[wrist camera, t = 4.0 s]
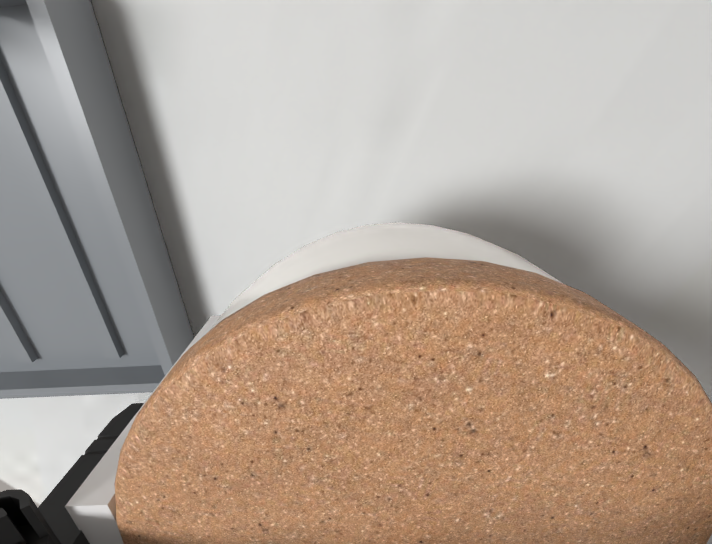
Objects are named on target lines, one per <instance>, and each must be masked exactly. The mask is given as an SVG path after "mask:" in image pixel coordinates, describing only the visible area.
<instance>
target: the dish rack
mask: <svg viewBox="0 0 712 544" xmlns="http://www.w3.org/2000/svg"><path fill="white" fill-rule="evenodd" d="M193 339H194V336H193V333H192V330H191V326H190V323H189V320H188V317H187V313H186V310H185V307H184V304H183V300H182V297H181V294H180V291H179V287H178V284H177V281H176V278H175V274H174V271H173V268H172V265H171V261H170V258H169V255H168V251H167V248H166V245H165V242H164V238H163V235H162V232H161V229H160V225H159V222H158V219H157V216H156V212H155V209H154V206H153V203H152V199H151V196H150V193H149V190H148V186H147V183H146V180H145V177H144V173H143V170H142V167H141V164H140V160H139V157H138V154H137V151H136V147H135V144H134V141H133V138H132V134H131V131H130V128H129V124H128V121H127V118H126V115H125V111H124V108H123V105H122V102H121V98H120V95H119V92H118V89H117V85H116V82H115V79H114V76H113V72H112V69H111V66H110V63H109V59H108V56H107V53H106V50H105V46H104V43H103V40H102V37H101V33H100V30H99V27H98V24H97V20H96V17H95V14H94V10H93V7H92V4H91V1H90V0H0V399H3V398H27V397H50V396H74V395H97V394H121V393H145V392H153V391H154V390H155V389H156V387H157V386H158V385H159V383H160V382H161V381H162V379H163V378H164V377H165V376H166V374H167V373H168V372H169V370H170V369H171V368H172V366H173V365H174V364H175V363H176V361H177V360H178V359H179V357H180V356H181V355H182V353H183V352H184V351H185V350H186V348H187V347H188V346H189V344H190V343H191V342H192V340H193Z"/></svg>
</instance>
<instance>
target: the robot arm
mask: <svg viewBox="0 0 712 544" xmlns="http://www.w3.org/2000/svg"><path fill="white" fill-rule="evenodd" d="M220 316H221V315H218V316H211V317H210V318H209V320H208V321H207V322H206V324H205V325H204V326H203V327H202V329H201V330H200V331H199V333H198V334H197V335H196V337H195V338H194V339H193V340H192V342H191V343H190V344H189V346H188V347H187V348H186V350H185V351H184V352H183V353H182V355H181V356H180V357H179V359H180V358H181V357H182V356H183V354H184V353H185V352H186V351H187V350H188V349H189V348H191V347H192V346H193V345H194V344H195V343H196V342H197V341H199V340H200V339H201V338H202V337H203V336H204V335H206V334H207V333H208V332H209V330H210V329H211V328H212V326H213V325H214V324H215V323H216V321H217V320H218V319H219V318H220ZM179 359H178V360H179ZM178 360H177V361H176V363H177V362H178ZM176 363H175V364H176ZM175 364H174V365H175ZM174 365H173V366H172V368H173V367H174ZM172 368H171V369H172ZM171 369H170V370H169V372H170V371H171ZM169 372H168V373H169ZM168 373H167V374H168ZM167 374H166V376H167ZM166 376H165V377H166ZM165 377H164V378H165ZM164 378H163V379H162V381H163V380H164ZM162 381H161V382H162ZM161 382H160V383H159V385H160V384H161ZM159 385H158V386H159ZM158 386H157V387H158ZM157 387H156V389H157ZM156 389H155V390H156ZM155 390H154V391H155ZM154 391H153V392H152V394H153V393H154ZM152 394H151V395H152ZM151 395H150V396H151ZM150 396H149V398H150ZM149 398H148V399H149ZM148 399H147V400H148ZM147 400H146V402H147ZM146 402H145V403H146ZM145 403H136V404H131V405H130V406H129V407H127V408H126V409H125V410H123V411H122V412H121V413H119V414H118V415H117V416H115V417H114V418H113V419H112V420H111V421H110V422H109V424H108V425H107V426H106V427H105V428H104V430H103V431H102V432H101V433H100V434H99V436H98V439H97V440H94V441H93V443H92V444H91V445H90V446H89V447H88V449H87V450H86V451H85V455H82V456H81V457H80V458H79V459H78V461H77V462H76V463H75V464H74V465H73V467H72V468H71V469H70V470H69V471H68V473H67V474H66V475H65V476H64V477H63V479H62V480H61V481H60V482H59V483H58V484H57V486H56V487H55V488H54V489H53V490H52V492H51V493H50V494H49V495H48V496H47V498H46V499H45V500H44V501H43V502H42V504H41V505H40V506H39V507H38V508H37V506H36V505H35V503H34V502H33V500H32V499H31V497H30V496H29V495H28V494H27V493H26V492H24V491H23V490H6V491H3V492H0V544H124V543H123V540H122V537H121V535H120V532H119V529H118V526H117V520H116V499H115V484H114V483H115V478H116V472H117V467H118V461H119V456H120V450H121V448H122V446H123V444H124V441H125V439H126V437H127V435H128V433H129V430H130V428H131V426H132V424H133V422H134V420H135V417H136V415H137V414H138V413H139V411H140V410H141V409H142V407H143V406H144V404H145ZM707 544H712V535H711V536H710V538H709V540H708V542H707Z"/></svg>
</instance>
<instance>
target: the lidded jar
mask: <svg viewBox="0 0 712 544" xmlns="http://www.w3.org/2000/svg"><path fill="white" fill-rule="evenodd" d="M114 484H115V499H116V520H117V526H118V529H119V532H120V535H121V537H122V540H123V543H124V544H707V542H708V540H709V538H710V536H711V535H712V403H711V401H710V400H709V398H708V396H707V395H706V393H705V391H704V390H703V388H702V386H701V385H700V383H699V381H698V380H697V378H696V376H695V375H694V374H693V373H692V372H691V371H690V370H689V369H688V368H687V367H686V366H685V365H684V364H683V363H682V362H681V361H680V360H679V359H678V358H677V357H676V356H675V355H674V354H673V353H672V352H671V351H670V350H669V349H668V348H667V347H666V346H665V345H663V344H662V343H661V342H659V341H658V340H657V339H655V338H654V337H652V336H651V335H650V334H648V333H647V332H645V331H644V330H642V329H641V328H639V327H638V326H636V325H635V324H633V323H632V322H630V321H629V320H627V319H626V318H624V317H623V316H621V315H619V314H618V313H616V312H615V311H613V310H612V309H610V308H609V307H607V306H605V305H604V304H602V303H601V302H599V301H598V300H596V299H594V298H593V297H591V296H590V295H588V294H586V293H584V292H582V291H580V290H577V289H575V288H572V287H570V286H567V285H565V284H564V283H562V282H560V281H559V280H557V279H556V278H554V277H553V276H551V275H550V274H548V273H546V272H545V271H543V270H542V269H540V268H539V267H537V266H535V265H534V264H532V263H531V262H529V261H528V260H526V259H524V258H523V257H521V256H520V255H518V254H516V253H513V252H511V251H509V250H507V249H504V248H502V247H500V246H497V245H495V244H493V243H490V242H488V241H485V240H483V239H480V238H478V237H475V236H473V235H471V234H468V233H464V232H460V231H455V230H451V229H447V228H442V227H438V226H433V225H426V224H412V223H397V222H395V223H383V224H372V225H364V226H360V227H356V228H352V229H348V230H344V231H339V232H336V233H334V234H331V235H329V236H326V237H324V238H322V239H319V240H317V241H314V242H312V243H310V244H308V245H306V246H303V247H301V248H300V249H298V250H297V251H295V252H293V253H292V254H290V255H288V256H287V257H285V258H284V259H282V260H280V261H279V262H277V263H276V264H274V265H273V266H272V267H271V268H270V269H268V270H267V271H266V272H265V273H264V274H263V275H262V276H260V277H259V278H258V279H257V280H256V281H255V282H254V283H252V284H251V285H250V286H249V287H248V288H247V289H246V290H245V291H243V292H242V293H241V294H240V295H239V296H238V297H237V298H235V300H234V301H233V302H232V303H231V304H230V306H229V307H228V308H227V309H226V310H225V312H224V313H223V314H222V315H221V316H220V318H219V319H218V320H217V321H216V323H215V324H214V325H213V326H212V328H211V329H210V330H209V332H208V333H207V334H206V335H204V336H203V337H202V338H201V339H200V340H199V341H197V342H196V343H195V344H194V345H193V346H192V347H191V348H189V349H188V350H187V351H186V352H185V353H184V354H183V356H182V357H181V358H180V359H179V360H178V362H177V363H176V364H175V365H174V367H173V368H172V369H171V371H170V372H169V373H168V374H167V376H166V377H165V378H164V380H163V381H162V382H161V384H160V385H159V386H158V387H157V389H156V390H155V391H154V393H153V394H152V395H151V396H150V398H149V399H148V400H147V402H146V403H145V404H144V406H143V407H142V409H141V410H140V411H139V413H138V414H137V415H136V417H135V420H134V422H133V424H132V426H131V428H130V430H129V433H128V435H127V437H126V439H125V441H124V444H123V446H122V448H121V450H120V456H119V461H118V467H117V472H116V478H115V483H114Z"/></svg>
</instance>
